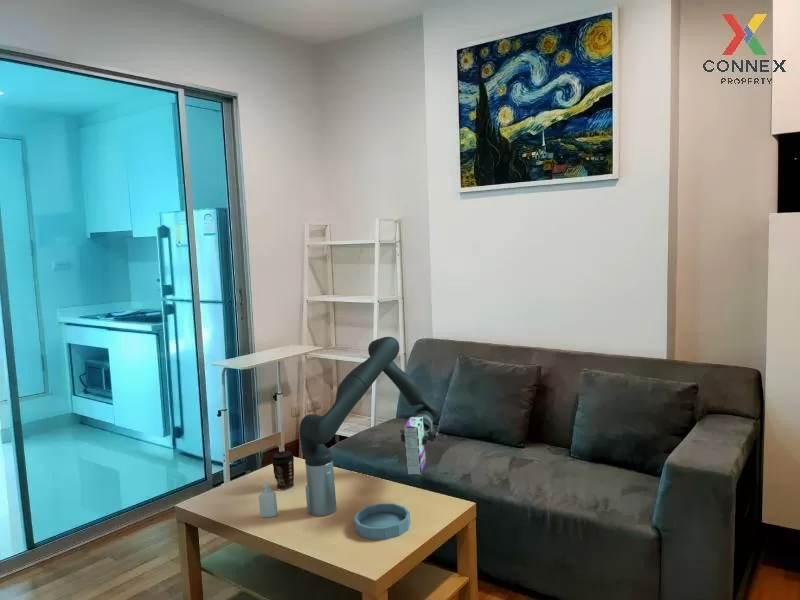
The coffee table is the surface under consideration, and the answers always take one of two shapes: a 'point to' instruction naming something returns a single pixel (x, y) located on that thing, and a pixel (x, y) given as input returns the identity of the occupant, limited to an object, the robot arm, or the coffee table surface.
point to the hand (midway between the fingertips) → (415, 442)
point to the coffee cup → (283, 469)
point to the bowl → (382, 521)
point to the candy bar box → (415, 445)
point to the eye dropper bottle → (267, 502)
